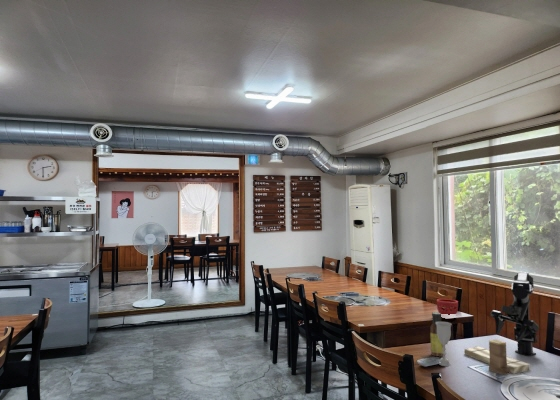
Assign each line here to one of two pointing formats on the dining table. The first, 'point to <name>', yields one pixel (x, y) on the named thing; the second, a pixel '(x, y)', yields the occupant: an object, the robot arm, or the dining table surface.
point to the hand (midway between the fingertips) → (506, 337)
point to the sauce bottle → (435, 336)
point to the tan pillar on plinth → (498, 357)
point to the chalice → (444, 339)
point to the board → (484, 356)
